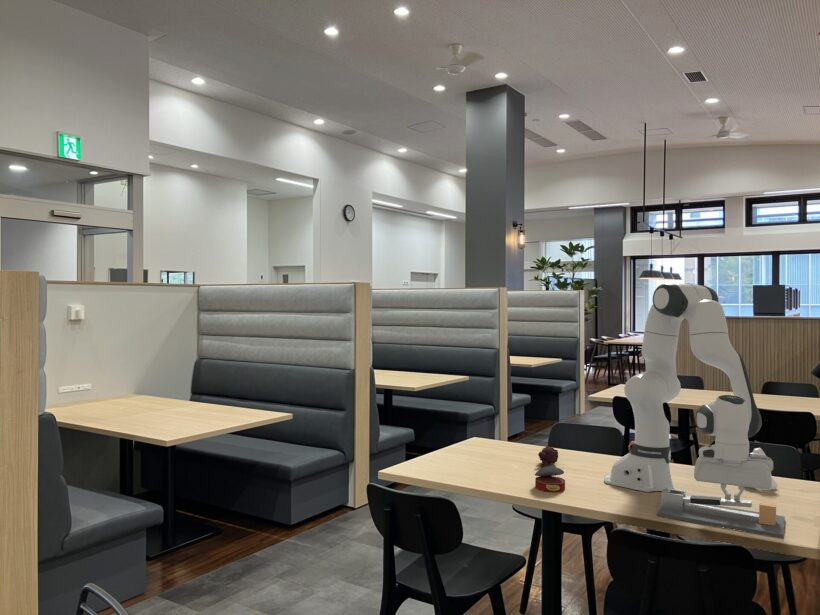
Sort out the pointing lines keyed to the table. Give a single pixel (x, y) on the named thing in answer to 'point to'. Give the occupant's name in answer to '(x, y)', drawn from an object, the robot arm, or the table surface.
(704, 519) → the mat
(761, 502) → the light orange block
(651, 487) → the robot arm
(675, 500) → the grey long bar
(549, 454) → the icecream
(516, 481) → the table surface
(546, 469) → the canned food
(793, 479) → the table surface
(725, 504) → the tongs arm
